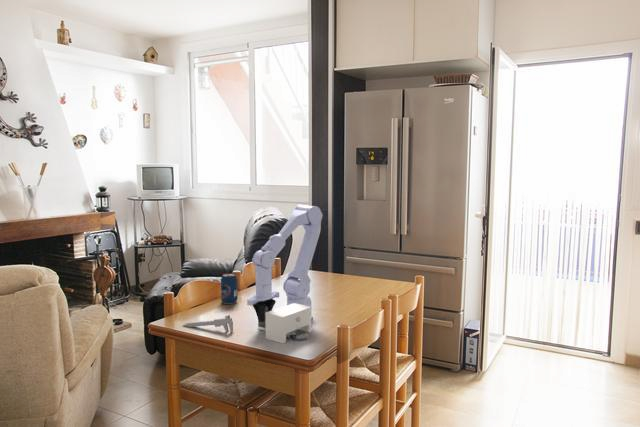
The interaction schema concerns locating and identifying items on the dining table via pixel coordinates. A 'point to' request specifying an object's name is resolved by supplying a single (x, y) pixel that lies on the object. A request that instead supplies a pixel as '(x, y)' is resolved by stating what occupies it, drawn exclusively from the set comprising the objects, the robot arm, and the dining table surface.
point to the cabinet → (287, 321)
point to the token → (300, 336)
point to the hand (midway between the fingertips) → (263, 320)
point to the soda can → (229, 288)
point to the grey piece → (263, 324)
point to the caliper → (214, 323)
